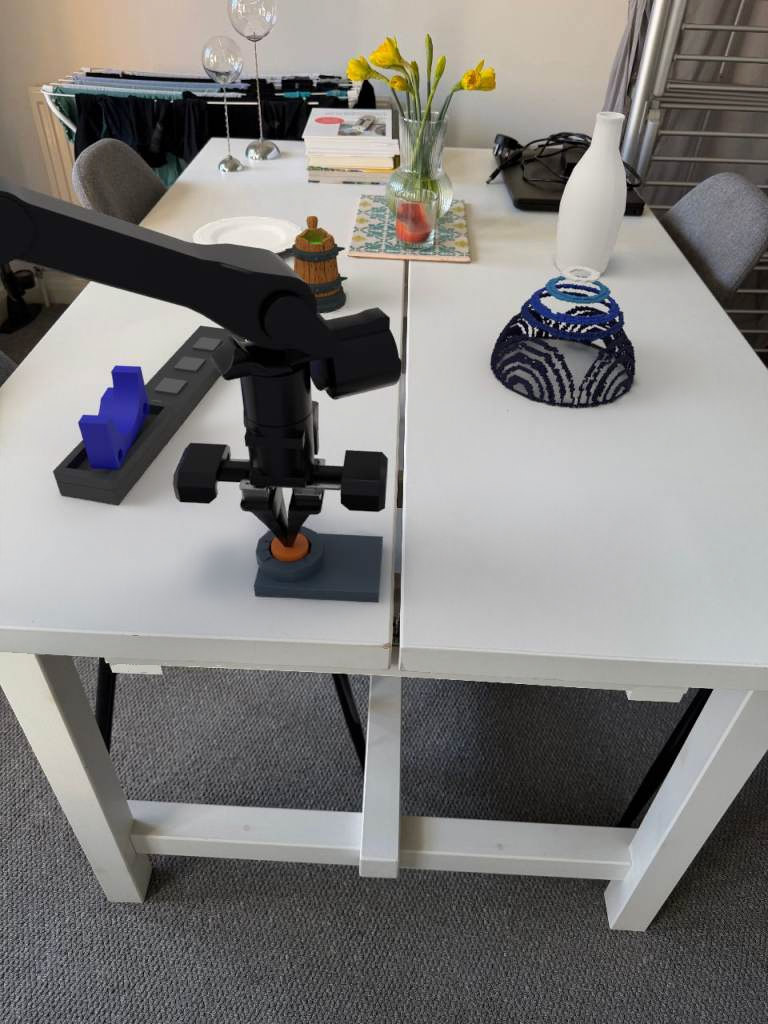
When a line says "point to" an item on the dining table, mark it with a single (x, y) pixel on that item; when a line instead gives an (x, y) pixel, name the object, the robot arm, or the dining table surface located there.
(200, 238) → the plate
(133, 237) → the robot arm
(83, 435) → the cable clip
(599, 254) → the bottle
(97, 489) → the power strip
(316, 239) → the mug
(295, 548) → the power button
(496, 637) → the dining table surface
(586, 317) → the decorative bowl
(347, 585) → the switch block
